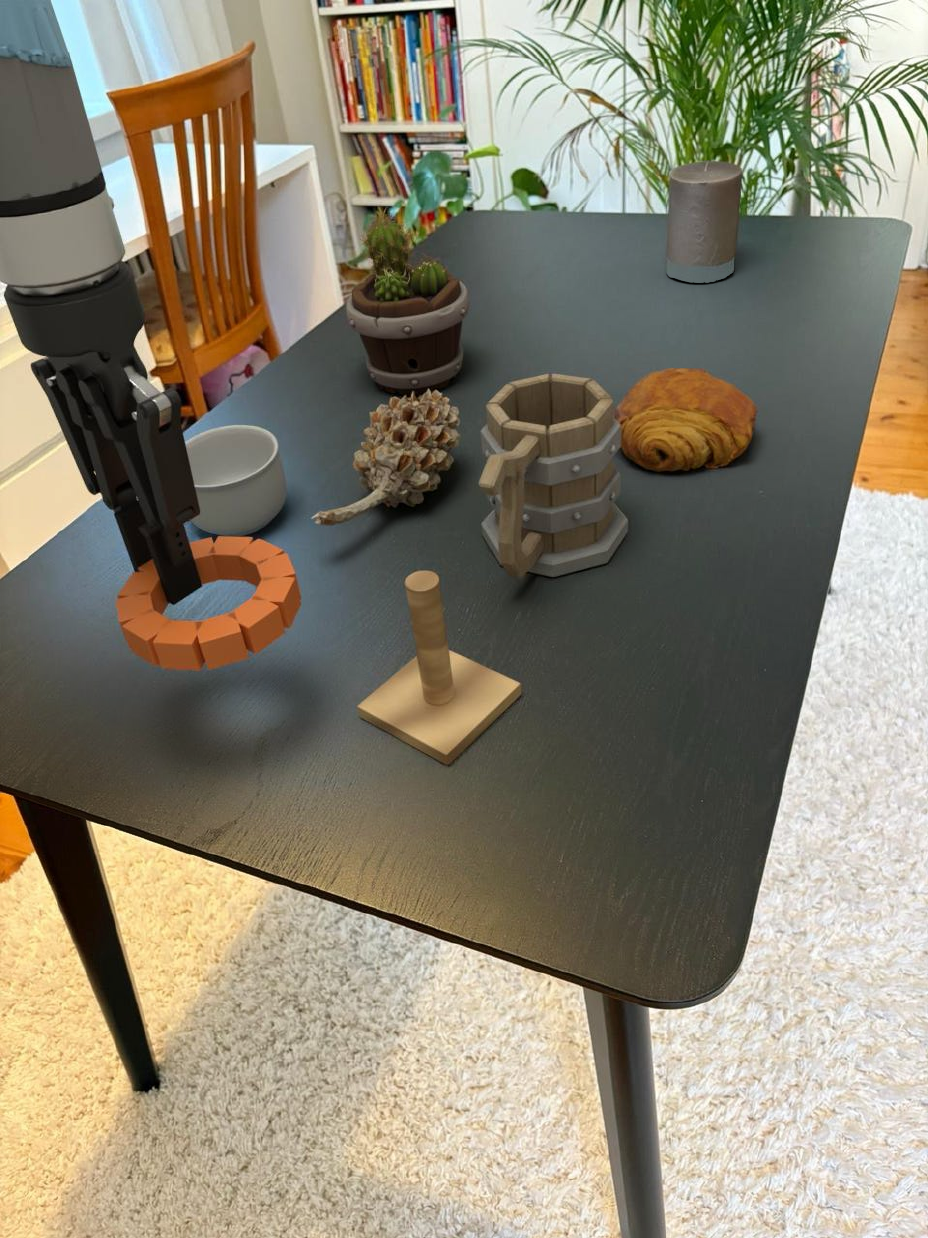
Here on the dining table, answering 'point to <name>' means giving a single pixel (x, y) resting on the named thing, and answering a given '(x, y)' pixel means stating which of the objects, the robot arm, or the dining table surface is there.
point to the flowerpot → (407, 315)
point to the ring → (221, 634)
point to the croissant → (684, 421)
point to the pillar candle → (703, 213)
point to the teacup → (236, 479)
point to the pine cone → (402, 453)
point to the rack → (437, 685)
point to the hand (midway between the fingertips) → (171, 586)
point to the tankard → (551, 476)
